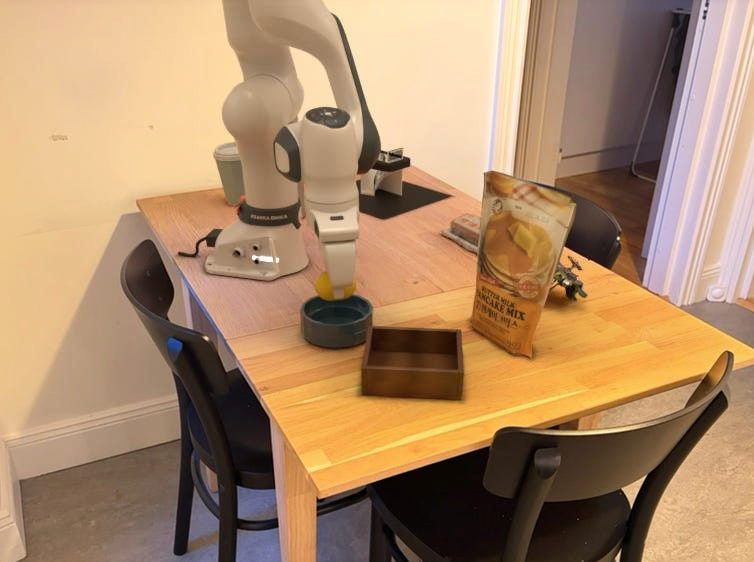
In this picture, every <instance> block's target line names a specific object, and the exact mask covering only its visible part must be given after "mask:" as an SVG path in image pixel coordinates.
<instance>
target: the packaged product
mask: <svg viewBox="0 0 754 562" xmlns="http://www.w3.org/2000/svg"><path fill="white" fill-rule="evenodd" d="M480 220H481V216H478V215H476V214H474V213H468V212H466V213H463V214H461V215H459V216H458V217H456V218H454V219H452V220H451V221H450V223H449V226H450V227H448V228H447V227H446V228H445V229H443V230H442V229H440V234H441V235H442V236H444V237H447V238H448V239H451V240H452V241H454V243H455V242H456V243H457V244H459V245H460V246H462V247H463V248H464V249H465V250H467V251H470V252H473V253H475V254H477V249H478V240H479V233H480Z"/></svg>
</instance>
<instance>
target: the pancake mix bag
mask: <svg viewBox="0 0 754 562" xmlns="http://www.w3.org/2000/svg"><path fill="white" fill-rule="evenodd" d="M576 213H577V203H575V202H574V201H573V199H572V198H571V196H569V195H568V194H565V193H563V192H560V191H557V190H554V189H551V188H547V187H544V186H541V185H539V184H536V183H534V182H531V181H529V180H526V179H523V178H520V177H517V176H513V175H510V174H508V173H504V172H500V171H496V170H488V171H485V172H483V191H482V199H481V214H480V218H481V220H480V233H479V240H478V249H477V253H476V254H477V259H476V277H475V292H474V298H473V304H472V311H471V312H472V313H471V316H470V320H471V321H472V324H471V326H472V328H473V329H474V330H475V331H476V332H477V333H478V334H481V335H482V336H483V337H484V338H487V339H488V340H489V341H491V342H493V343H494V344H496V345H498V346H499V347H500V348H501V349H503V350H504V351H506V352H508V353H510V354H511V355H512V356H525V357H529V358H530V359H532V358H533V357H532V356H533V348H532V347H533V346H532V345H533V344H532V342H533V340H534V337H535V334H536V332H537V329H538V326H539V324H540V322H541V318H542V314H543V311H544V307H545V304H546V302H547V298H548V296H549V293H550V291H549V290H550V288H552V285H553V284H552V283H553V282H554V279H553V278H554V274H555V272H556V270H557V268H558V265H559V262H560V263H561V258H562V255H563V251H564V248H565V245H566V242H567V239H568V236H569V233H570V231H571V229H572V227H573V224H574V223H575V217H576Z"/></svg>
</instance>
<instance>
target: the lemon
mask: <svg viewBox="0 0 754 562" xmlns="http://www.w3.org/2000/svg"><path fill="white" fill-rule="evenodd" d="M314 290H315V292H316V294H317V295H319V296H320V297H321V298H322V299H324V300H327V301H334V300H343V299H347V298H349V297H350V296H352V295H353V294H355V292H356V290H357V280H356V278H355V277H354V282H353V285H352V286H348V287H344V297H343V298H340V299H335V298H334V296H333V290H332V286H331V283H330V279H329V276H328V273H327V270H326V271H323V272H322V273H319V274H318V276H317V278H316V279H315V283H314Z"/></svg>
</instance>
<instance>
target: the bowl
mask: <svg viewBox="0 0 754 562" xmlns="http://www.w3.org/2000/svg"><path fill="white" fill-rule="evenodd" d="M299 317H300V319H299V320H300V332H301V334H302V336H303V338H304V339H305V340H306V341H308V342H309V343H311V344H314V345H316V346H320V347H325V348H330V349H343V348H350V347H351V346H352V347H353V346H356V345H358V344H362V343H363V342H366V338H367V332H368V326H374V305H373V304H372V303H371V301H370V300H369V299H367V298H365V297H363V296H361V295H359V294H355V293H353V295H352V296H350V297H349V298H347V299H343V300H334V301H327V300H324V299H322V298H321V297H320V296H319V295H318V294H317V295H315V296H311V297H309V298H308V299H306V300H305V301H303V302H302V304H301V307H300V309H299Z"/></svg>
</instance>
